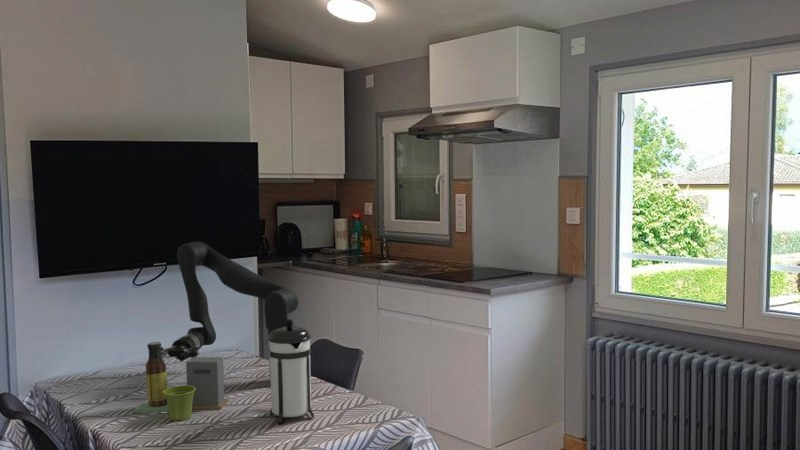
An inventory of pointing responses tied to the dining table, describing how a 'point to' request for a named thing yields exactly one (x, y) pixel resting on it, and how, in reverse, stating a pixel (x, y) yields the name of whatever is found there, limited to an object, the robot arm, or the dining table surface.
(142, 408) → the green mat
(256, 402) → the dining table surface
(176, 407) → the plant pot
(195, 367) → the charcoal unit
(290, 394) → the coffee press
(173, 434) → the dining table surface
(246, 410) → the dining table surface
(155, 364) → the sauce bottle
